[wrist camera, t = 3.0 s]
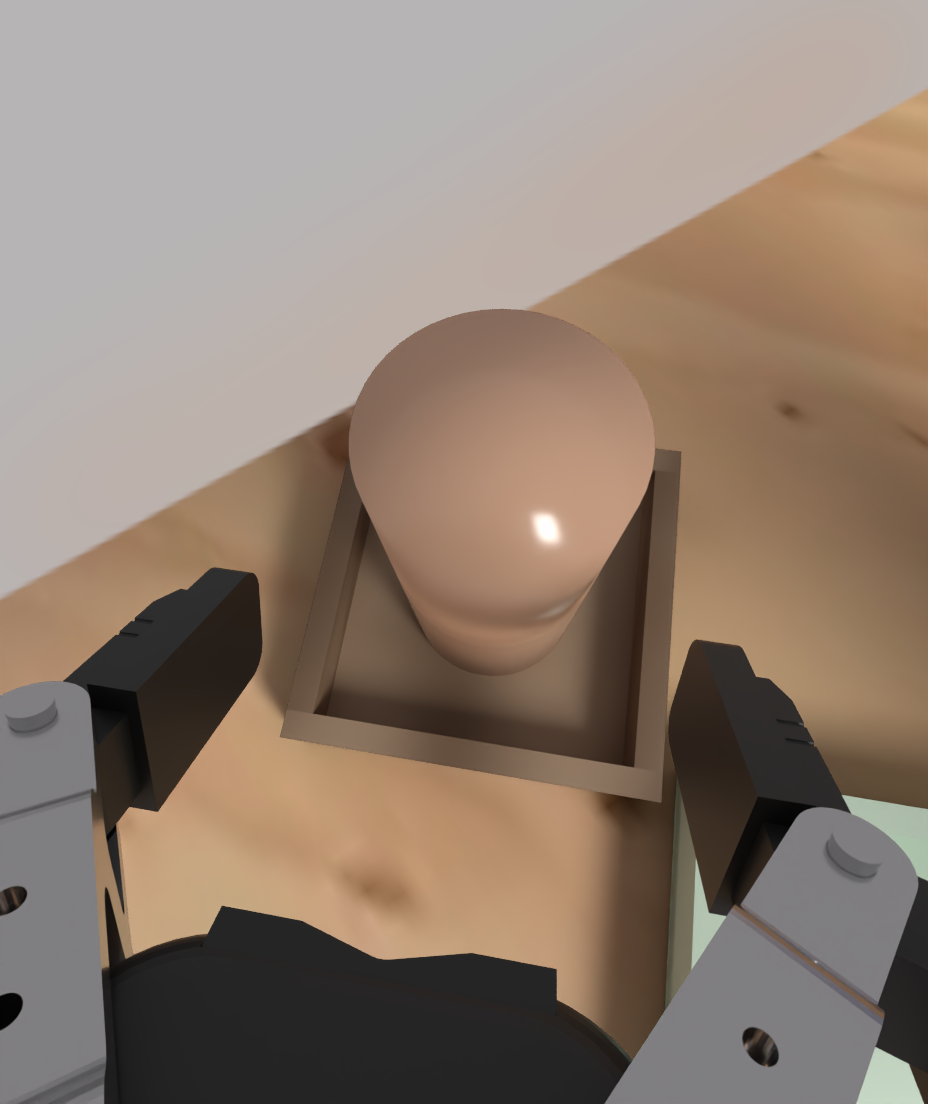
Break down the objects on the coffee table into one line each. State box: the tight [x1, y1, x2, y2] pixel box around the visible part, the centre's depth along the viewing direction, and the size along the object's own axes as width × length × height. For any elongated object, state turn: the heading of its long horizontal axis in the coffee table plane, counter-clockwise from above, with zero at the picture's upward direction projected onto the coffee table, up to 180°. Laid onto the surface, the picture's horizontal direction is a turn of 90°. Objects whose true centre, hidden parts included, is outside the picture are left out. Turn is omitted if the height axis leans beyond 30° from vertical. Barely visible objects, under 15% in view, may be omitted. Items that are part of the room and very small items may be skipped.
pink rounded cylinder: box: [349, 309, 655, 676], centre depth 16 cm, size 5×5×11 cm
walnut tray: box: [280, 449, 681, 803], centre depth 21 cm, size 11×11×2 cm
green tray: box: [665, 777, 928, 1104], centre depth 16 cm, size 11×11×2 cm
